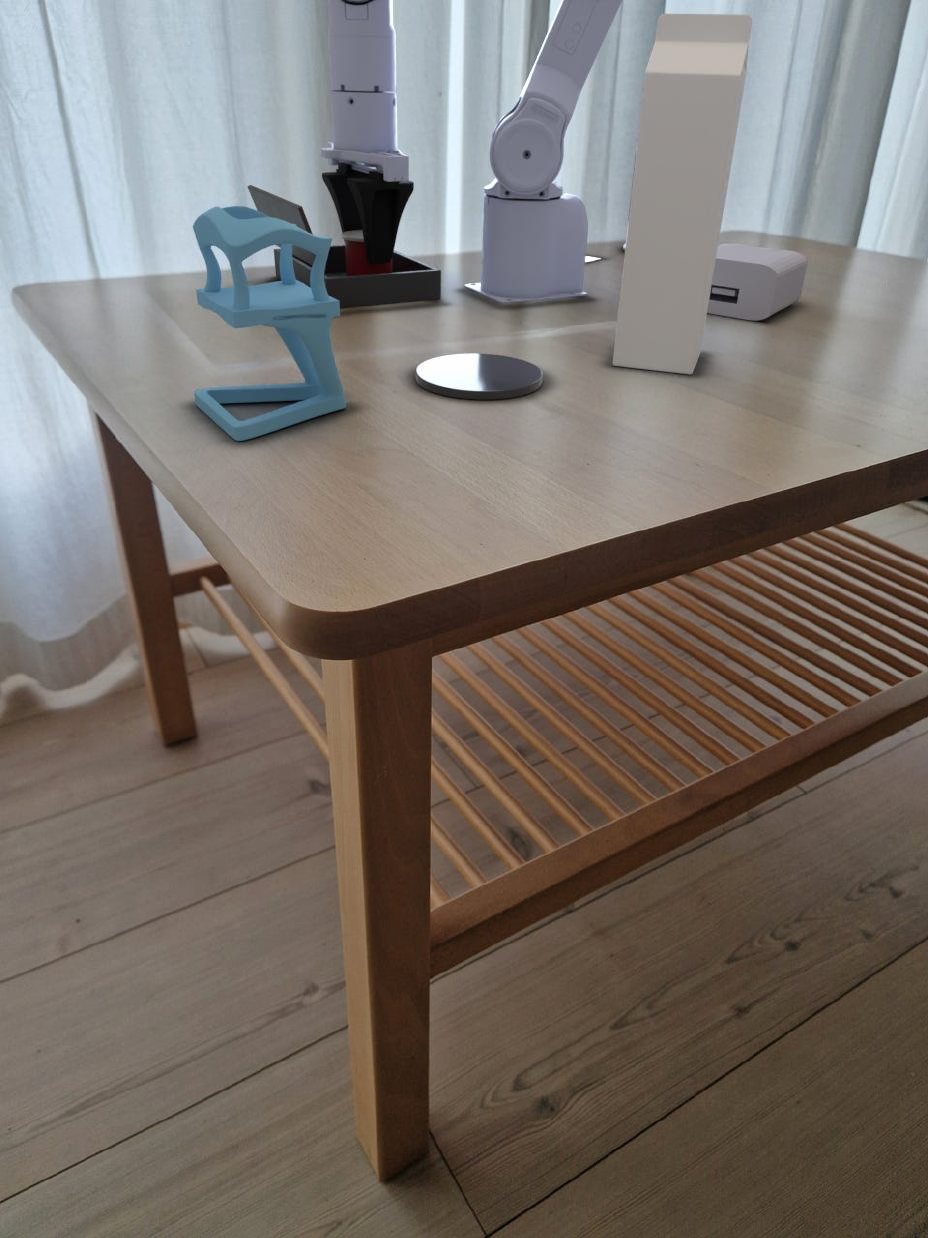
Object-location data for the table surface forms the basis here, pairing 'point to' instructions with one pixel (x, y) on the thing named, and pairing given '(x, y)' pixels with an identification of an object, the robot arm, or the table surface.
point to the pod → (360, 256)
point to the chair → (270, 317)
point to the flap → (283, 216)
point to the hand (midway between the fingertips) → (368, 257)
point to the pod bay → (371, 280)
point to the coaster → (479, 376)
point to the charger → (755, 281)
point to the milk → (680, 188)
